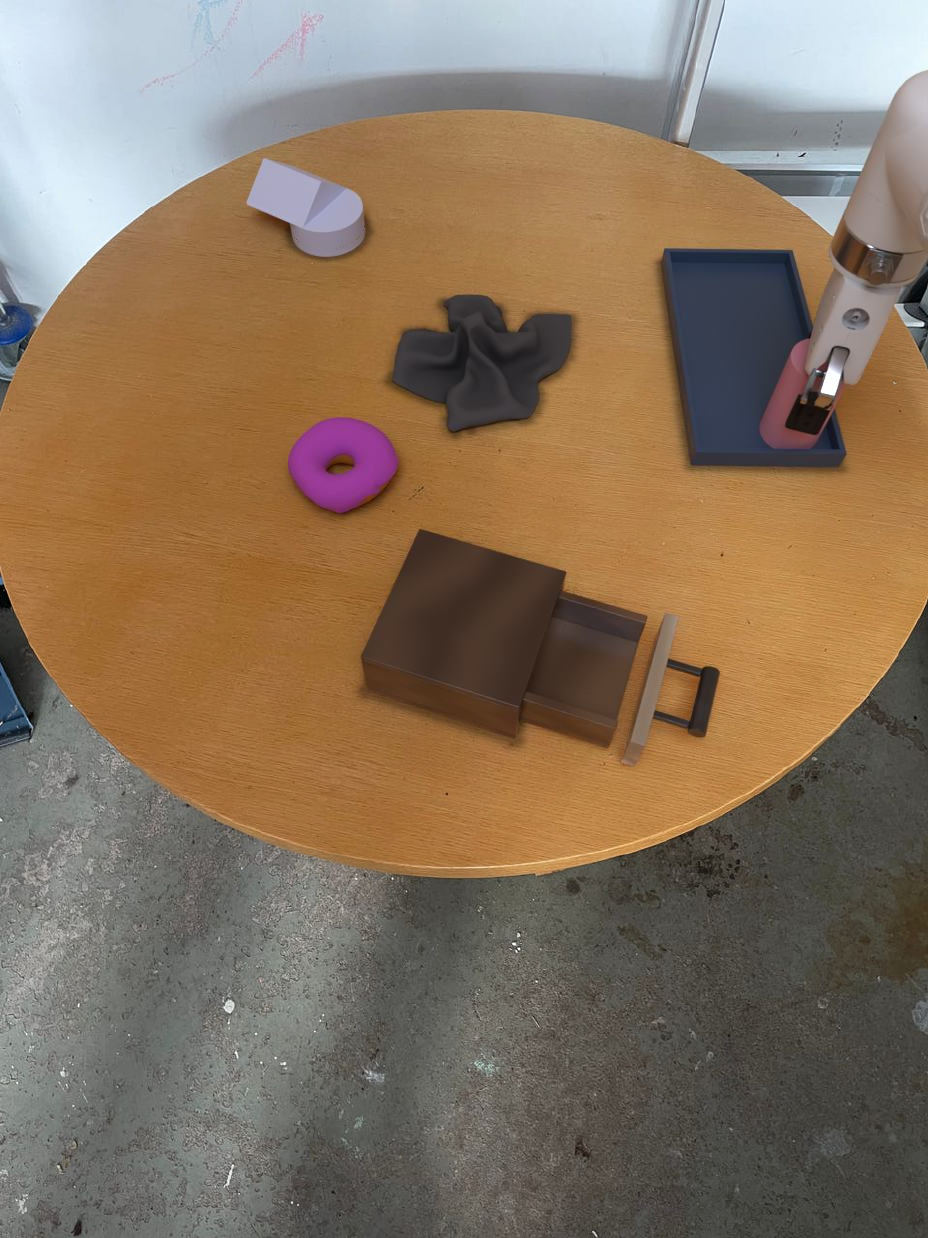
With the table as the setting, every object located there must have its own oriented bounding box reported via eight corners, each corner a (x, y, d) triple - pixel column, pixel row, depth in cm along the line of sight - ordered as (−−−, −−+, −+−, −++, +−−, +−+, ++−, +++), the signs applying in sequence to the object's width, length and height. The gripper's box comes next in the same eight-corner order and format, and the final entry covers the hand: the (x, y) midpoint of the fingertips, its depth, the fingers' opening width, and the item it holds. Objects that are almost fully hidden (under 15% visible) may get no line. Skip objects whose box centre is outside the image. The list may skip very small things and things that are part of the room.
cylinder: (821, 418, 91) (859, 346, 83) (813, 460, 88) (851, 389, 80) (764, 404, 92) (796, 331, 84) (754, 445, 89) (786, 373, 81)
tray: (839, 467, 89) (847, 453, 87) (690, 465, 89) (695, 451, 87) (786, 264, 104) (792, 249, 102) (660, 262, 104) (664, 247, 102)
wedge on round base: (251, 228, 107) (336, 266, 104) (239, 177, 101) (329, 215, 98) (296, 190, 111) (379, 225, 107) (287, 138, 105) (375, 174, 102)
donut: (277, 467, 88) (268, 437, 84) (361, 423, 91) (357, 392, 87) (329, 535, 84) (323, 506, 80) (416, 487, 87) (414, 457, 83)
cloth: (486, 457, 89) (488, 415, 84) (356, 371, 95) (350, 327, 90) (612, 340, 98) (621, 295, 92) (485, 268, 104) (487, 222, 98)
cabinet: (559, 609, 80) (566, 571, 75) (514, 739, 74) (519, 708, 68) (422, 568, 82) (419, 527, 77) (367, 691, 76) (360, 656, 70)
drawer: (717, 657, 77) (732, 631, 73) (688, 784, 71) (702, 764, 67) (534, 602, 80) (538, 574, 75) (491, 720, 74) (493, 697, 70)
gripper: (920, 323, 66) (835, 469, 81) (937, 190, 74) (856, 345, 89) (820, 301, 67) (754, 448, 82) (848, 172, 75) (783, 328, 90)
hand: (808, 394), depth 85 cm, fingers open, 9 cm apart
